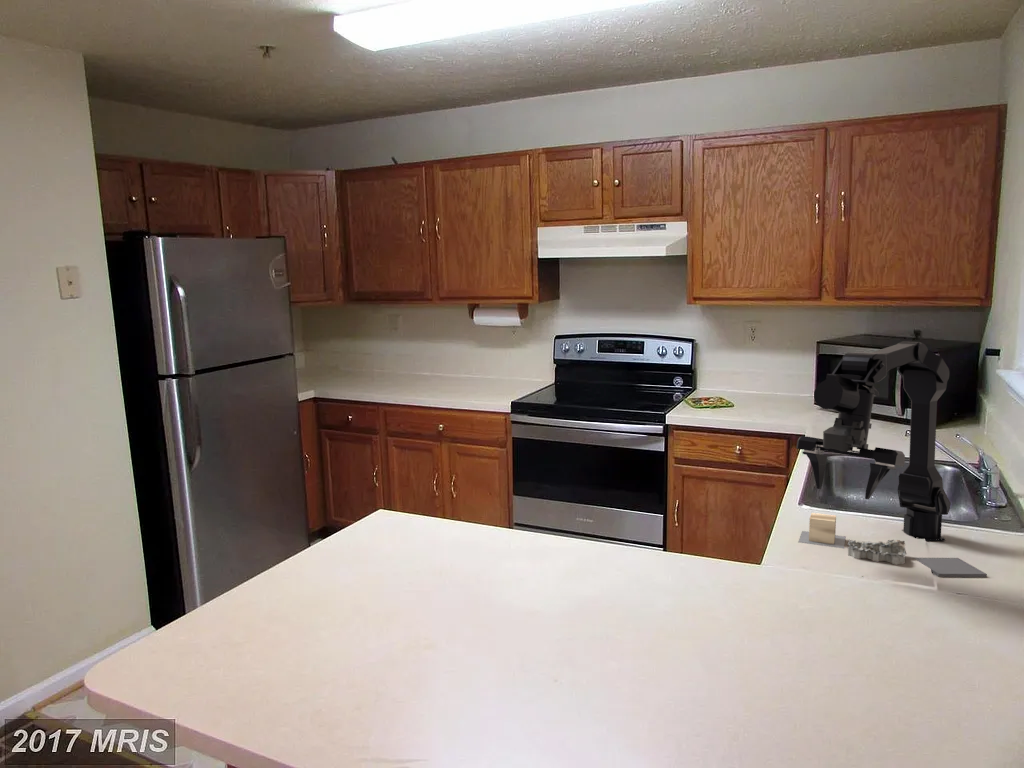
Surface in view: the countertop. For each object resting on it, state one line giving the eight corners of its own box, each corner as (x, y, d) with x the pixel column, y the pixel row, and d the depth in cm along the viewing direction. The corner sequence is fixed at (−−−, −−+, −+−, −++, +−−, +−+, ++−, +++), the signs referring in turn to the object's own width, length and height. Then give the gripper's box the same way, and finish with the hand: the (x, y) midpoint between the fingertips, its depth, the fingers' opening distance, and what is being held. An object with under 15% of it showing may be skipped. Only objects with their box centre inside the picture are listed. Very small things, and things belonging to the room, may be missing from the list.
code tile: (802, 533, 159) (802, 530, 159) (845, 539, 155) (845, 536, 155) (797, 544, 152) (798, 542, 151) (843, 551, 147) (843, 548, 147)
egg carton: (906, 560, 143) (907, 540, 142) (904, 571, 136) (905, 550, 136) (849, 550, 148) (850, 531, 148) (844, 560, 142) (845, 541, 142)
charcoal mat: (957, 560, 141) (958, 557, 141) (986, 577, 132) (986, 574, 132) (912, 560, 142) (912, 557, 141) (938, 576, 133) (938, 573, 133)
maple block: (810, 534, 157) (811, 512, 156) (835, 537, 154) (836, 515, 154) (808, 540, 152) (809, 518, 152) (833, 544, 150) (834, 521, 150)
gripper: (790, 405, 138) (778, 483, 138) (892, 418, 125) (878, 504, 125) (813, 411, 146) (802, 484, 146) (911, 423, 133) (898, 504, 132)
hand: (842, 494), depth 137 cm, fingers open, 9 cm apart
